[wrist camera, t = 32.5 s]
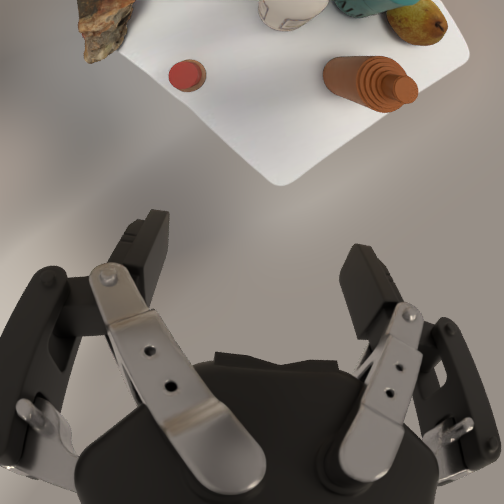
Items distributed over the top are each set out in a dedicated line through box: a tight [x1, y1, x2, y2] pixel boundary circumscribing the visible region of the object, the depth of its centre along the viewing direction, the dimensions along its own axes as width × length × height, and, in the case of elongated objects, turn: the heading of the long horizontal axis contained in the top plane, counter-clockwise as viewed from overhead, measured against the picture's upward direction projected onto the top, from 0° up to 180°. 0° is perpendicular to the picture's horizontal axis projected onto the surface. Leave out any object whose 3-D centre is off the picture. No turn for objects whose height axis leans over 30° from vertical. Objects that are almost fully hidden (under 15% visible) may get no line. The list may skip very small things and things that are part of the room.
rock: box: [77, 0, 135, 64], centre depth 25 cm, size 12×12×10 cm
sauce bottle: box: [323, 56, 418, 113], centre depth 27 cm, size 6×6×19 cm
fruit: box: [387, 0, 448, 46], centre depth 23 cm, size 9×9×12 cm
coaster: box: [177, 60, 206, 92], centre depth 35 cm, size 5×5×1 cm
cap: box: [169, 62, 202, 89], centre depth 33 cm, size 4×4×3 cm
